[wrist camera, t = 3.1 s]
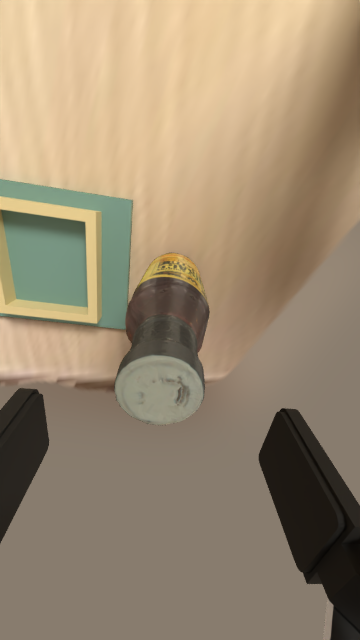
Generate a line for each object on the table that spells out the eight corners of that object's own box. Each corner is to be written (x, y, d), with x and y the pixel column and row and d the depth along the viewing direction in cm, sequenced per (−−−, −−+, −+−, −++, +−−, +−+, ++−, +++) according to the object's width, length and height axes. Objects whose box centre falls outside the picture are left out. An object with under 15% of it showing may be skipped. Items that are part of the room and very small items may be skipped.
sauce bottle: (208, 271, 28) (273, 387, 10) (177, 310, 30) (186, 462, 12) (163, 237, 26) (146, 305, 8) (134, 281, 28) (68, 410, 10)
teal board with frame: (132, 200, 24) (128, 199, 22) (126, 326, 31) (122, 337, 28) (-43, 172, 23) (-69, 168, 20) (-11, 311, 29) (-28, 321, 27)
